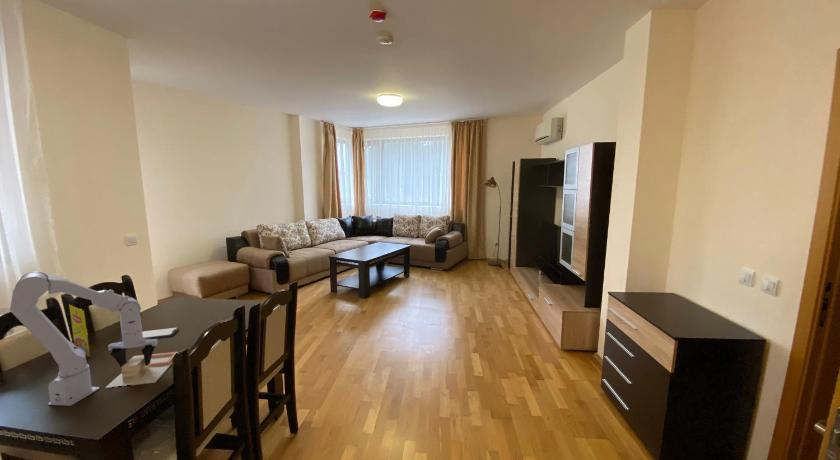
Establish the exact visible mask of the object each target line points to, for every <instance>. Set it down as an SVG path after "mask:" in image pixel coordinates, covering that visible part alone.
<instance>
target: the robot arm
mask: <svg viewBox="0 0 840 460" xmlns="http://www.w3.org/2000/svg"><path fill="white" fill-rule="evenodd" d="M47 291H48V295H53V294H57V293H64V294H68V295H71V296H76V297H78V298H81V299H85V300H90V301H91V304H92V306H95V307H96V308H101V309H104V310H107V311H109V312H110V311H111V312H116V313H119V315H120V316H119V317H120V321H119V323H120V325H119V326H120V332H121V333H120V334H121V341H118V342H113V343H110V344H109V345H108V346H107V350H108V351H111V352H110V356H111V357H113V359H115V361H116V362H117V363H118V364H119V365H118V366H119V367H120V368H121V367H122V366H123V365H124V364H125V363H126V362H127V355H126V354H127V349H132V348H141V353H142V355H144V360H145V366H147V365H149V364H150V362H151V356H152V354H153V353H154V350H155V348H156V346H157V345H158V344H159V340H158V339H143V333H142V332H143V325H142V317H141V313H140V312H141V310H142V307H141V305H140V303H139V301H138V300H137V299H136V298H134V297H132V296H129V295H125V296H124V295H121V294H118V293H115V290H113V289H109V290H107V289H102V290H95V289H92V288H90V287H86V286H84V285H81V284H79V283H76V282H74V281H71V280H68V279H65V278H63V277H60V276H57V275H53V274H47V273H45V272H42V271H35V270H34V271H30V272H26V273H25V274H23V275H22V276H21V277H20V279H19V280H18V281H17V282H16V284H15V286H14V289H12V296H11V300H10V301H11V303H10V308H9V310H10V312H11V313H12V314H13V316H14V317H16V319H18V321H19V322H20V324H23V326H24V327H25V328H26V329H27V330H28V331H29V332H30V333H31V334H32V335H33V336H34V337H35V338H36V339H37V340H38V341H39V342H40V344H42V346H44V348H45V349H46V350H47V351H48V352H49V353H50V354H51V356H52V358H53V359H54V361H55V363H56V364H57V365H58V370H59V371H58V372H57V377H56V378H54V379H52V381H51V382H49V384H48V386H47V388H48V389H47V391H48V398H49V402H48V404H47V405H48V406H49V405H50V406H73V405H74V404H77V403H78V402H80V401H82V399H84V398H86V397H87V396H90V395H91V394H93V393H95V392H97V391H98V390H100V387H99V386H92V377H91V371H90V370H91V369H90V364H88V362H87V359H86V358H87V357H86V356H87V355H86V353H85V350H84V349H82V348H80V347H77V346H75V345H74V342H72V341H69V340H68V339H67V337H65V335H64V334H63V333H62V332H61V330H59V329H58V328H57V326H56V325H55V324H54V323H53V322H52V321H51V320H50V319H49V318H48V317H47V315H45V313H44V312H43V311H42V310H41V309H40V308H39V307H38V306H37V303H38V302H39V299H40V297H42V296H43V295H44V294H45V293H46V292H47Z"/></svg>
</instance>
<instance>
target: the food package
mask: <svg viewBox="0 0 840 460" xmlns="http://www.w3.org/2000/svg"><path fill="white" fill-rule="evenodd" d="M68 307H69V312H70V313H69V315H70V320H71V321H70V322H71V328H72V329H71V330H72V336H73V337H72V338H73V344H74V345H75V346H77V347H80V348H82V349H84V350H85V353H86V355H85V356H87V357H89V358H90V357H91V356H90V346H89V338H88V333H87V325H86V324H87V323H86V322H87V321H86V316H85V310H83V309H80V308H78V307H75V306H74V305H71V304H68Z"/></svg>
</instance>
